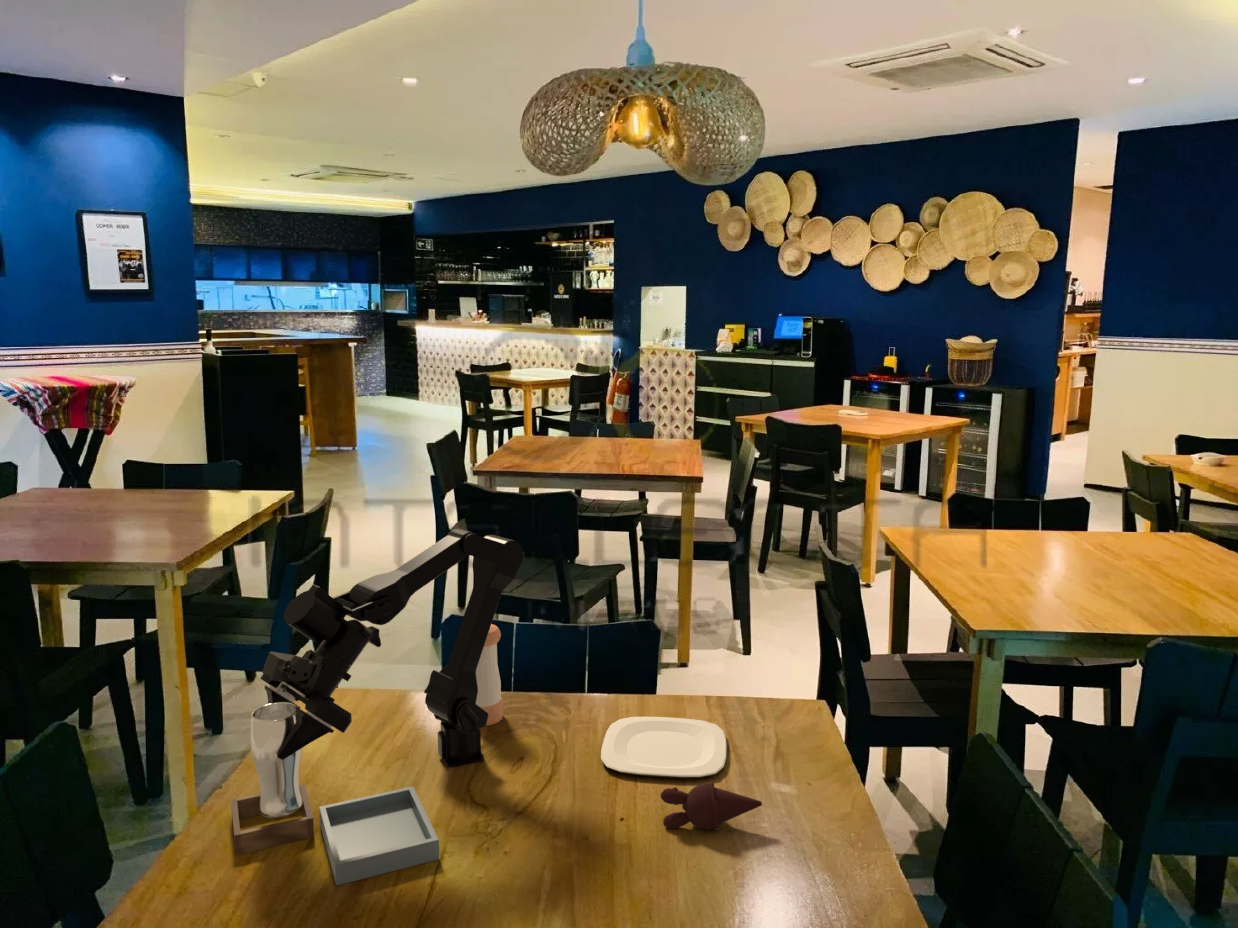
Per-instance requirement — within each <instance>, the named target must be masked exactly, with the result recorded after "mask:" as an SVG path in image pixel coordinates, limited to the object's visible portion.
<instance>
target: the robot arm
mask: <svg viewBox="0 0 1238 928" xmlns="http://www.w3.org/2000/svg"><path fill="white" fill-rule="evenodd" d="M469 556H472V557H473V560H472V572H473V579H474V585H473V588H472V590H471V594H470V597H469V600H468V603H467V605H466V609H465V611H464V615H463V617H462V619H461V623H460V626H459V629H458V632H457V635H456V638H455V642H454V643H453V644H454V645H453V647H452V651H451V654H450V656H449V659H448V662H447V664H446V665H444V666H443V668H442V669H441V670H440V671H437V670H435V669H433V670H432V671H431V673H430V676H429V681H428V684H427V686H426V688H425V689H424V691H423V692H424V694H426V695H425V699H424V700H425V701H424V703H425V705H426V707H427V710H428V711H429V712H430V713H432V714H433V716H434V718H435V719H436V720H438V721H440V730H439V731H437V746H438V747H437V751H438V752H437V753H438V755H439V756H440V758H441V760H442V761H443V762H444V763H445V765H446V767H448V768H451V767H455V766H459V765H460V766H461V765H465V764H470V763H475V762H479V761H484V760H485V755H484V754H483V752H482V735H481V734H482V733H481V729H482V728H484V727H486V723H487V719H488V715H489V714H488V713H487V712H486V711H484V710H483V709H482V708H480V707H479V706H478V705H476V699H477V694H478V686H477V679H476V669H477V666H478V663H479V660H480V657H481V654H482V651H483V648H484V645H485V642H486V638H487V635H488V632H489V629H490V626H491V624H492V623H493V620H494V618H495V617H494V616H495V614H496V611H497V608H498V604H499V601H500V598H501V595H502V593H503V591H504V590H505V589H506V588H507V587H509V585H510V584H511V583H512V582H513V581H515V579H516V577H517V575H518V573H519V571H520V569H521V566H522V564H523V562H524V558H525V552H524V551H523V548H522V545H521V544H520V543H519V542H518V541H516V540H513V539H509V538H505V537H503V536H502V537H501V536H499V535H495V534H488V535H485V536H484V537H483V536H481V535H477V534H476V533H475V532H472V531H469V530H466V529H462V528H455V529H451V530H450V531H449V532H448V533H447V535H446V536H445V537H443V538H442V539H441V538H440V540H438V541H437V542H436V543H434V544H432V545H431V546H429V547H428V548H426V549H424V550H423V551H422V552H420V553H419V554H417V555H415V556H413V558H411V559H409V560H408V561H407V562H404V563H403V564H402V565H400V566H399V567H397V568H396V569H394V570H392V571H389V572H384V573H379V574H376V575H373V576H371V577H369V578H366V579H364V580H361V581H359V582H358V583H356V584H355V585H353V586H352V587H351V589H350V590H348V591H346V592H344V593H341V594H339V595H336V596H334V597H332V596H331V595H330V594H329V593H328V592H327V591H326V590H325V589H324V588H322V587H321V586H319V585H316V584H312V585H311V587H310V588H309V589H307V590H305V591H303V592H301V593H299V594H298V595H297V596H295V597H294V598H291V600H290V602H289V603H288V604H287V606H286V607H285V610H284V613H283V621H284V622H285V623H286V624H287V626H289V627H291V628H292V629H294V630H296V631H297V632H299V633H300V634H302V635H303V636H305V638H307V639H309V640H310V641H311V642H314V643H320V644H319V646H318V647H317V648H316V650H315V651H314V650H312V649H309V650H306V652H305V653H304V654H303V655H302V656H299V655H295V654H289V653H282V652H277V651H269V652H268V656H267V658H266V660H265V661H266V662H265V664H264V667H263V669H262V671H261V672H262V675H261V677H260V680H261V681H263V682H265V683H266V684H268V686H267V685H264V690H265V692H266V695H267V696H266V697H267V704H269V703H275V702H290V703H294V704H296V703H295V702H298V701H299V702H301V703H303V704H304V709H305V710H306V712H305V711H304V710H303V709H301V706H299V705H298V707H299V708H298V707H297V708H296V717H297V720H296V723H295V725H294V726H293V728H292V730H291V731H290V733H289V735H288V736H287V738H286V740H285V741H284V743H283V745H282V746H281V748H280V750H279V752H278V754H277V757H278V758H279V759H281V760H284V759H285V758H287V757H288V756H290V755H292V754H293V753H295V752H296V751H298V750H300V749H301V748H302V749H303V748H304V747H306V746H309V744H311V743H312V742H314V741H316V740H318V739H319V738H321V737H323V736H325V735H327V734H329V733H331V734H333V733H334V732H335V730H334V729H333V728H335V729H336V730H338V731H339V732H341V733H343V734H345V732H347V730H348V728H349V727H350V725H351V724H352V713H351V712H350V711H348V710H347V709H344V708H343V707H341V706H340V705H338V704H337V703H336V702H335V700H336V699H335V698H333V697H331V696H332V695H333V693H334V692H335V691H336V689H337V688H338V686H339V685H340V683H341V682H342V680H344V681H346V682H349V681H350V679H351V677H352V675H351V673H348V672H349V671H350V669H351V668H352V666H353V665H354V663H355V662H356V660H357V659H358V657H360V655H361V653H362V652H363V651H364V649H365V648H366V646H367V645H368V644H371V645H373V646H375V647H377V648H380V647H381V646H382V642H381V637H380V629H379V628H377V627H375V626H373V625H378V626H379V625H380V626H384V625H386V624H388V623H391V621H392V620H394V619H395V618H396V617H397V616H398V615H399V614H400V613H401V612H402V611H403V610H404V609H405V608H406V607H407V604H408V602H409V601H410V598H411V597H412V596H413V595H414V594H415V593H416V592H418V591H420V590H421V589H422V588H423V587H425V586H426V585H428V584H429V583H431V582H432V581H433V580H435V579H437V578H438V577H439V576H441V575H443V573H445V572H447V571H448V570H450V569H451V568H453V567H454V566H455V565H457V564H458V563H460V562H461V561H463V560H464V559H465V558H467V557H469ZM346 616H348V617H350V618H352V619H351V620H350V619H349V620H347V619H346V618H345V617H346ZM362 622H368V623H371V624H373V625H370V626H366V625H364V624H363V623H362ZM294 701H295V702H294Z"/></svg>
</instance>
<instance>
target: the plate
mask: <svg viewBox="0 0 1238 928" xmlns="http://www.w3.org/2000/svg"><path fill="white" fill-rule="evenodd" d="M600 749H601V750H600V761H601V762H602V763H603V764H604V766H605V767H606V768H607V769H609V770H612V771H615V772H617V773H620V774H625V775H626V774H627V775H633V776H634V775H635V776H643V777H654V778H655V777H657V778H673V779H674V778H676V779H700V778H705V777H711V776H716V775H717V774H718V773H719V772H721V771H722V770H723V769H724V767H725V763H726V760H727V737H726V734H725V731H724V730H723V729H722V728H721V727H720V726H718V725H717V724H716V723H712V722H708V721H706V720H704V719H703V720H701V719H693V718H682V717H681V718H680V717H665V716H630V717H624V718H619V719H618V720H615V722H613V723H611V724H610V725H609V727H608V729H607V730H606V732H605V735H604V738H603V741H602V746H601V748H600Z"/></svg>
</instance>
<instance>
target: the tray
mask: <svg viewBox="0 0 1238 928" xmlns="http://www.w3.org/2000/svg"><path fill="white" fill-rule="evenodd" d="M318 808H319V809H318V810H319V827H320V830H321V833H322V837H323V841H324V845H325V849H326V853H327V856H328V860H329V864H330V867H331V871H332V875H333V879H334V883H335V886H336V887H337V886H340V885H345V884H348V883H353V882H355V881H360V880H364V879H368V878H372V877H376V876H380V875H383V874H389V873H391V872H394V871H398V870H399V871H400V870H403V869H406V868H411V867H414V866H417V865H422V864H426V863H430V862H435V861H437V860H440V841H439V840H440V839H439V838H438V837H439V836H438V835H437V833H436V831H435V829H434V826H433V824H432V823H431V820H430V819H429V816H428V815H427V813H426V810H425V808H424V806H423V804H422V802H421V799H420V798H419V796H418V794H417V791H416V789H415V787H414V786H413V785H412V786H408V787H402V788H398V789H394V790H389V791H385V792H380V793H376V794H371V795H367V796H362V797H358V798H352V799H347V800H343V801H339V802H335V803H329V804H326V805H325V804H324V805H322V806H321V805H320V806H318Z"/></svg>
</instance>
